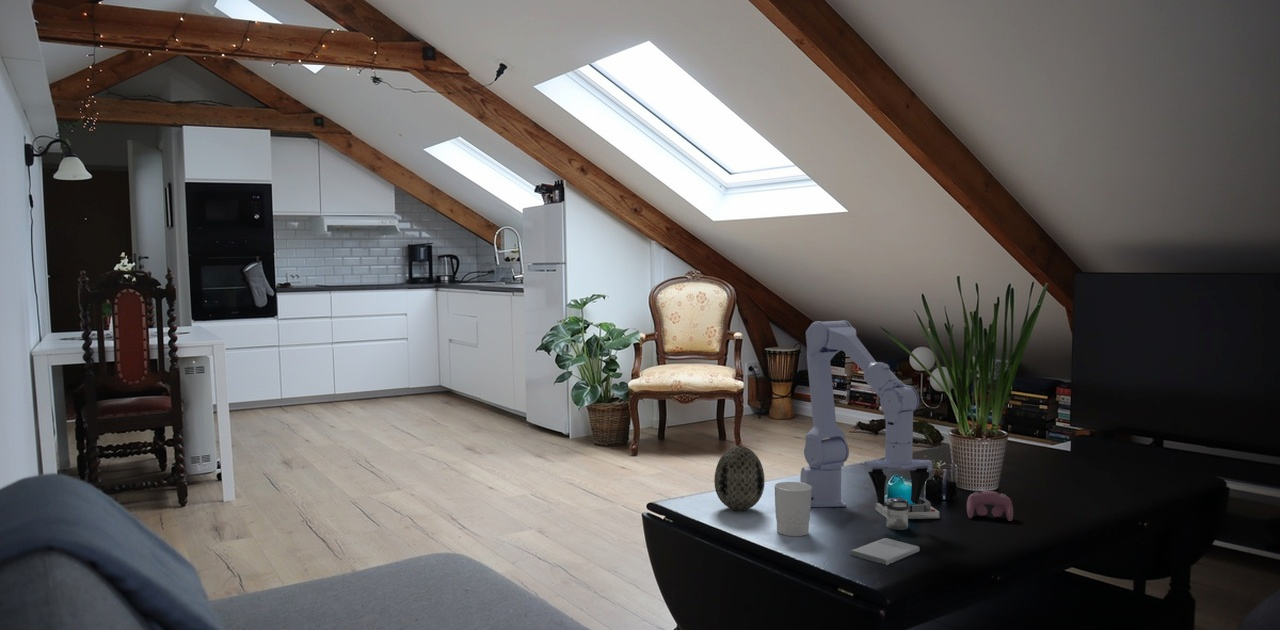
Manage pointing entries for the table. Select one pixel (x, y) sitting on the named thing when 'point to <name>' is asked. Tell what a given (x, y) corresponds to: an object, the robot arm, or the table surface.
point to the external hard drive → (885, 551)
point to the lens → (897, 513)
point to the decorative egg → (739, 478)
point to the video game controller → (989, 497)
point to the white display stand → (913, 510)
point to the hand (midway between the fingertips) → (897, 502)
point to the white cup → (793, 508)
